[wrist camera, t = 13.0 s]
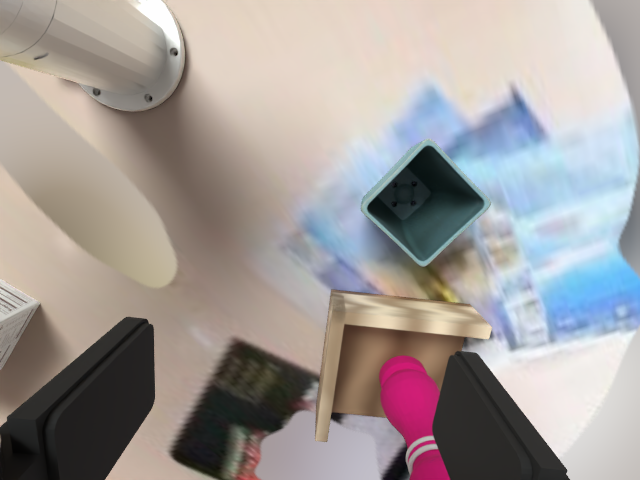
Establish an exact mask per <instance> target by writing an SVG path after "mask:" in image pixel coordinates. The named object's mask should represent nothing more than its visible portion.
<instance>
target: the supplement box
mask: <svg viewBox="0 0 640 480" xmlns="http://www.w3.org/2000/svg"><path fill="white" fill-rule="evenodd" d="M39 305H40V302H39V301H37V300H35V299H34V298H32V297H30V296H29V295H27V294H25V293H24V292H22V291H20V290H18V289H17V288H15V287H13V286H12V285H10V284H8V283H6V282H5V281H3V280H1V279H0V370H1V369H2V368H3V366H4V365H5V363H6V361H7V359H8V358H9V356H10V354H11V353H12V351H13V349H14V347H15V346H16V344H17V342H18V340H19V339H20V337H21V335H22V333H23V332H24V330H25V328H26V326H27V325H28V323H29V321H30V320H31V318H32V316H33V314H34V313H35V311H36V309H37V308H38V306H39Z"/></svg>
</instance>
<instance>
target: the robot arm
mask: <svg viewBox="0 0 640 480" xmlns="http://www.w3.org/2000/svg"><path fill="white" fill-rule="evenodd" d="M176 52H178V55H177V56H176V55H175V54H176ZM0 61H4V62H7V63H11V64H14V65H18V66H21V67H25V68H28V69H32V70H35V71H39V72H42V73H46V74H49V75H53V76H56V77H60V78H63V79H67V80H70V81H74V82H77V83H78V84H79V85H80V86H81V88H82V89H83V90H84V91H86V92H87V93H88V94H89V95H90V96H91V97H92V98H94V99H96V100H97V101H99V102H100V103H102V104H104V105H107V106H109V107H111V108H114V109H119V110H123V111H131V112H136V111H145V110H148V109H151V108H154V107H156V106H158V105H160V104H161V103H163V102H164V101H165V100H166V99H167V98H169V97H170V96H171V94H172V93H173V92H174V90H175V89H176V88H177V86H178V84H179V81H180V79H181V77H182V73H183V69H184V64H185V48H184V40H183V36H182V33H181V30H180V27H179V25H178V22H177V20H176V18H175V16H174V14H173V13H172V12H171V10H170V9H169V7H168V6H167V5H166V3H165V2H164V1H163V0H0ZM100 92H101V94H100ZM151 97H152V101H151ZM154 400H155V372H154V328H153V325H152V324H149V322H148V320H147V319H144V318H134V317H126V318H124V319H123V320H122V321H120V322H119V323H118V324H117V325H116V326H114V327H113V328H112V329H111V330H110V331H109V332H107V333H106V334H105V335H104V336H103V337H101V338H100V339H99V340H98V341H97V342H96V343H94V344H93V345H92V346H91V347H90V348H88V349H87V350H86V351H85V352H84V353H83V354H81V355H80V356H79V357H78V358H77V359H75V360H74V361H73V362H72V363H71V364H70V365H68V366H67V367H66V368H65V369H64V370H62V371H61V372H60V373H59V374H58V375H57V376H55V377H54V378H53V379H52V380H51V381H49V382H48V383H47V384H46V385H45V386H43V387H42V388H41V389H40V390H39V391H38V392H36V393H35V394H34V395H33V396H32V397H30V398H29V399H28V400H27V401H26V402H25V403H23V404H22V405H21V406H20V407H19V408H17V409H16V410H15V411H14V412H13V413H12V414H10V415H9V416H8V417H7V422H5V423H4V424H3V425H2V426H1V427H0V480H105V479H106V477H107V476H108V474H109V473H110V471H111V470H112V468H113V467H114V465H115V464H116V462H117V460H118V459H119V457H120V456H121V454H122V453H123V451H124V450H125V448H126V447H127V445H128V444H129V442H130V441H131V439H132V438H133V436H134V435H135V433H136V432H137V430H138V429H139V427H140V426H141V424H142V423H143V421H144V420H145V418H146V417H147V415H148V414H149V412H150V410H151V409H152V406H153V404H154ZM432 432H433V437H434V439H435V442H436V444H437V447H438V450H439V452H440V455H441V457H442V460H443V462H444V465H445V467H446V470H447V472H448V475H449V478H450V480H570V479H569V478H568V476H567V475H566V473H567V469H566V468H565V467H564V465H563V464H562V463H561V461H560V460H559V459H558V458H557V456H556V455H555V454H554V452H553V451H552V450H551V448H550V447H549V446H548V445H547V443H546V442H545V441H544V439H543V438H542V437H541V435H540V434H539V433H538V432H537V430H536V429H535V428H534V426H533V425H532V424H531V423H530V421H529V420H528V419H527V417H526V416H525V415H524V413H523V412H522V411H521V410H520V408H519V407H518V406H517V404H516V403H515V402H514V400H513V399H512V398H511V397H510V395H509V394H508V393H507V391H506V390H505V389H504V388H503V386H502V385H501V384H500V382H499V381H498V380H497V378H496V377H495V376H494V375H493V373H492V372H491V371H490V369H489V368H488V367H487V365H486V364H485V363H484V362H483V360H482V359H481V358H480V356H479V355H478V354H477V353H473V352H464V351H457V352H455V354H454V355H450V357H449V359H448V363H447V367H446V371H445V375H444V379H443V383H442V387H441V391H440V395H439V399H438V403H437V407H436V411H435V415H434V419H433V424H432Z"/></svg>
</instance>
